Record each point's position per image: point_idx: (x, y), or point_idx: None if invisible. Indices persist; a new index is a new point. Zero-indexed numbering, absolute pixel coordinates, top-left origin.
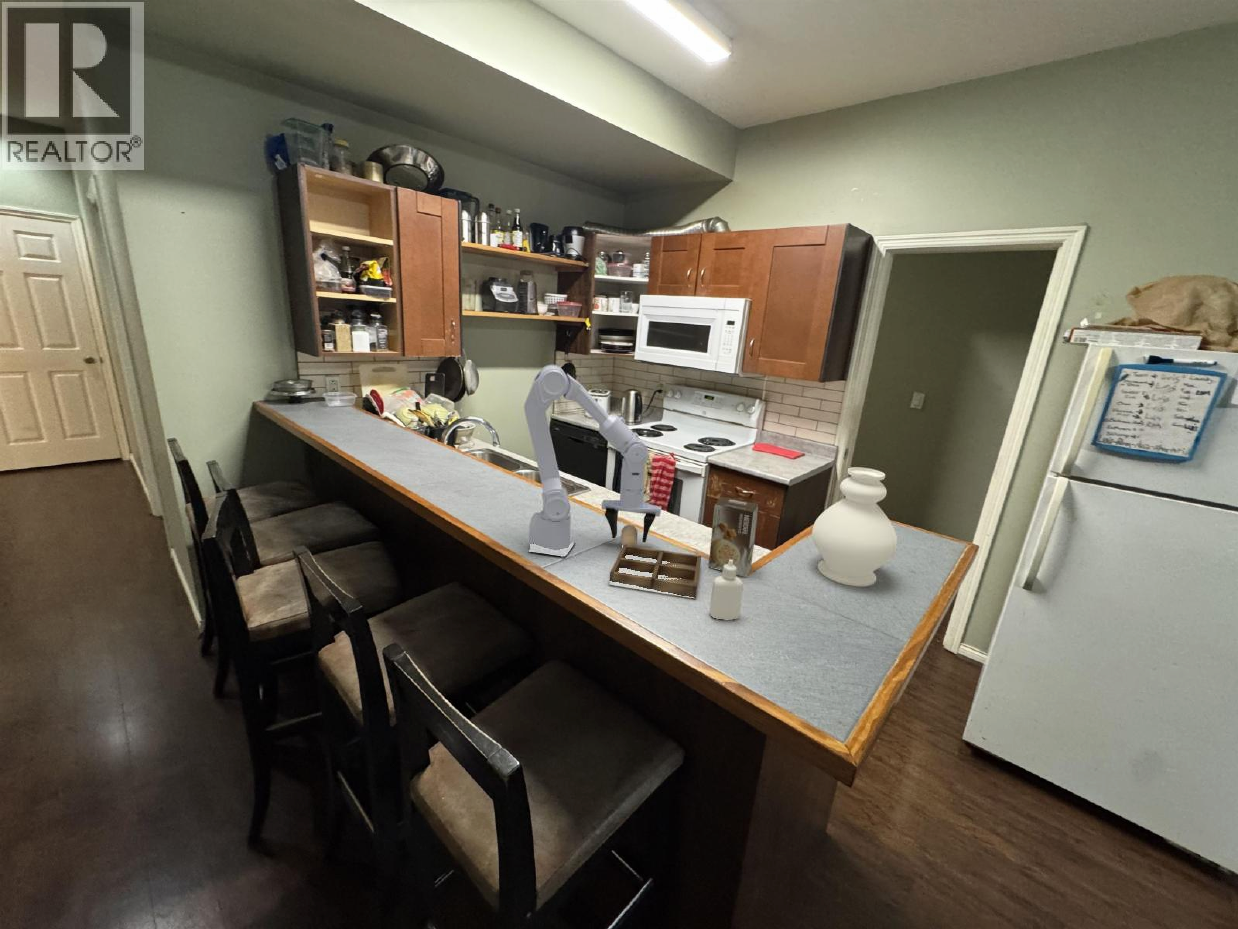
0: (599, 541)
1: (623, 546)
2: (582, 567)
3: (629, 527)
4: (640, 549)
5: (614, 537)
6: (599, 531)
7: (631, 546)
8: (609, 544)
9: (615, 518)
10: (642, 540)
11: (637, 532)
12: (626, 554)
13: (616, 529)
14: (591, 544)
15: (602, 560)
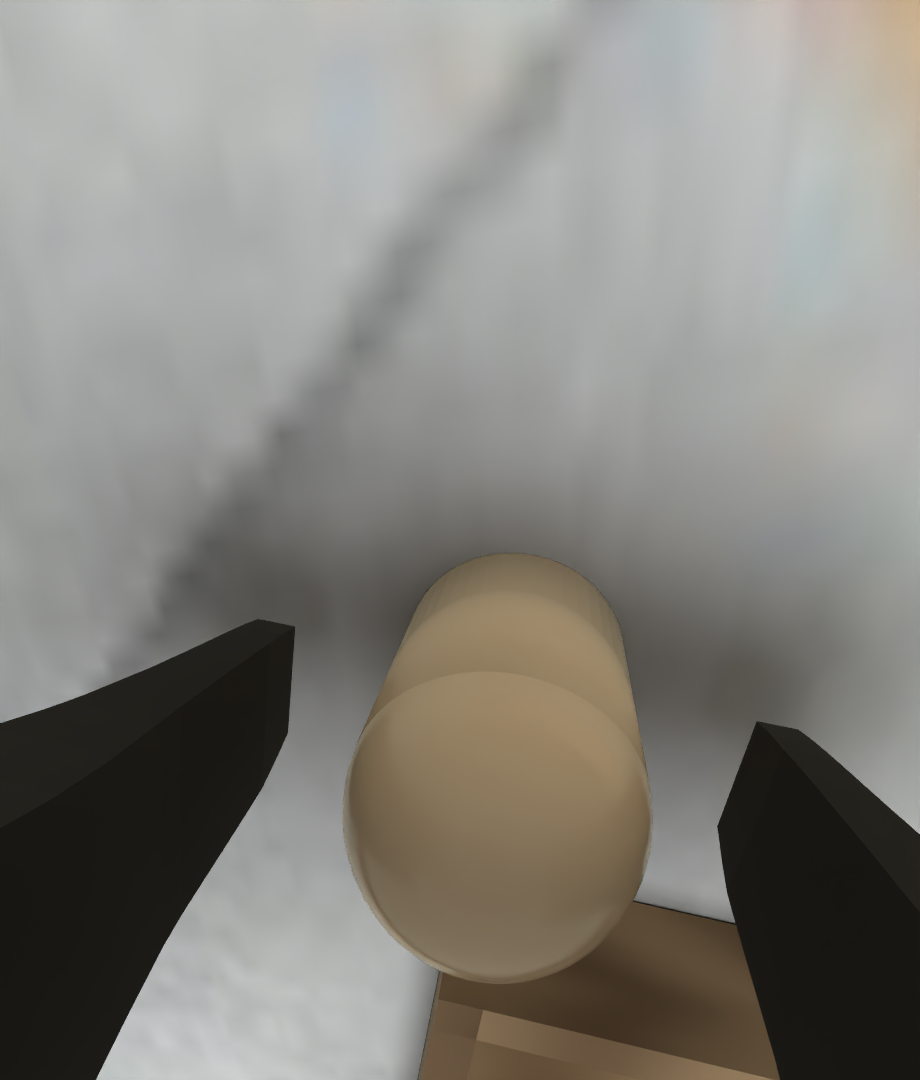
0: (116, 528)
1: (433, 1033)
2: (131, 1030)
3: (474, 977)
4: (663, 1076)
5: (274, 748)
6: (7, 159)
7: (540, 1036)
8: (258, 599)
9: (57, 1035)
10: (722, 859)
11: (650, 844)
12: None
13: (241, 706)
14: (53, 622)
15: (263, 935)
